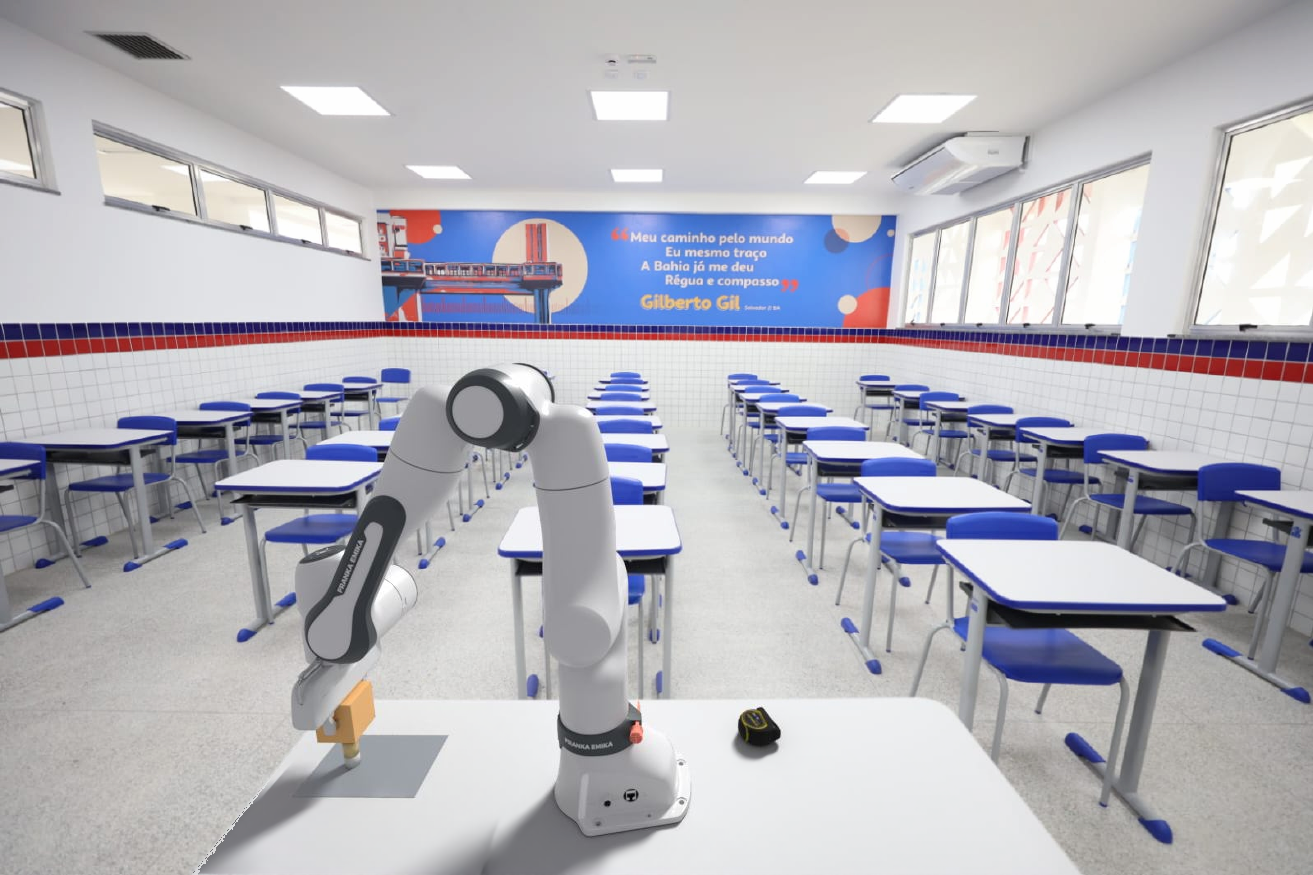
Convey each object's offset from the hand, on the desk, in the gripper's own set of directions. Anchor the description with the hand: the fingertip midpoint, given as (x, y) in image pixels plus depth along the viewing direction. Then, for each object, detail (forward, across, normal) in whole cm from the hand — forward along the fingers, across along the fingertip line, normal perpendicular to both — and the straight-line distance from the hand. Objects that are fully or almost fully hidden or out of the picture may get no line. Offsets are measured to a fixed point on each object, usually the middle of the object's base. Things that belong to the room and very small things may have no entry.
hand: (346, 715), depth 96 cm
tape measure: (+11, +9, -72) cm, 73 cm away
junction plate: (+11, 0, -4) cm, 12 cm away
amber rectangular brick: (+3, 0, 0) cm, 3 cm away
